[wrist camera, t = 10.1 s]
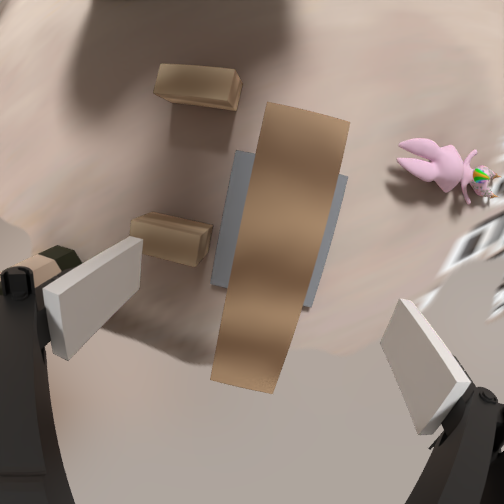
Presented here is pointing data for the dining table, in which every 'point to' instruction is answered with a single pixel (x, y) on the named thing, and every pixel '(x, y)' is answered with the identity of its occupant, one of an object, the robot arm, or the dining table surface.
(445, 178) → the rabbit figure
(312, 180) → the walnut beam
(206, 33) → the dining table surface
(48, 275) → the wine bottle
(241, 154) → the fulcrum
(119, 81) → the dining table surface
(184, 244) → the board
